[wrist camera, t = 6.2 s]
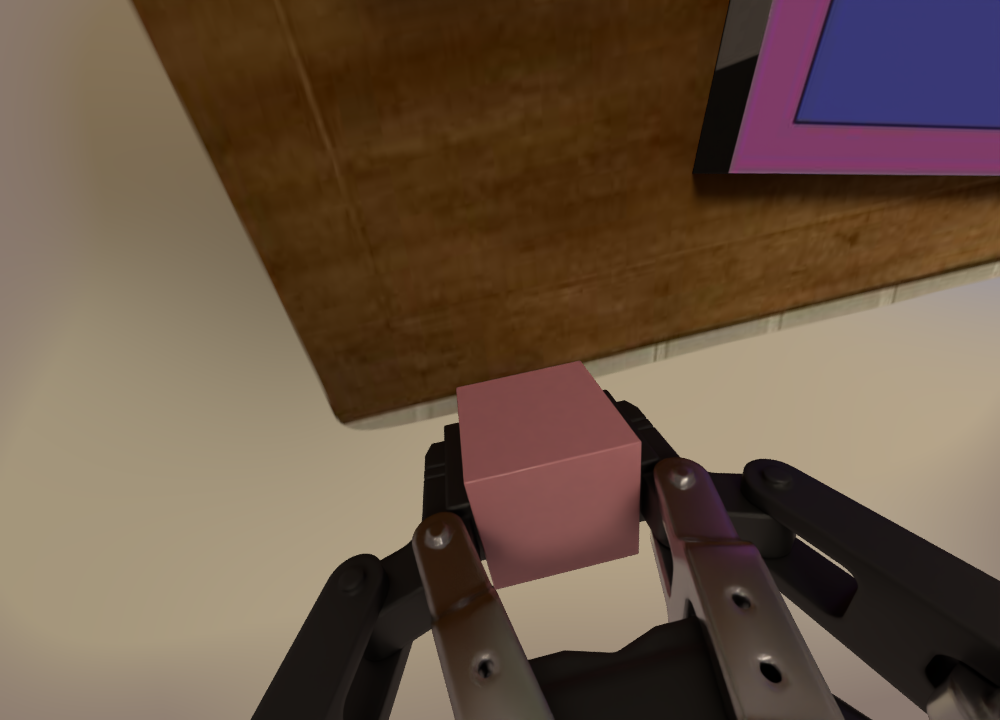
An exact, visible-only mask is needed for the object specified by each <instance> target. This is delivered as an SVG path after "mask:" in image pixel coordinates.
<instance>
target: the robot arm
mask: <svg viewBox="0 0 1000 720" xmlns="http://www.w3.org/2000/svg"><path fill="white" fill-rule="evenodd" d="M603 392H604V393H605V394H606V396H607V397H608V398H609V400H610V401H611V402H612V404H613V405H614V406H615V408H616V409H617V410H618V412H619V413H620V414H621V416H622V417H623V418H624V420H625V421H626V422H627V423H628V425H629V426H630V427H631V429H632V430H633V431H634V433H635V434H636V435H637V437H638V438H639V439H640V441H641V480H640V517H639V522H641V521H646V522H647V524H648V525H649V527H650V529H651V533H650V534H651V535H650V539H651V544H652V548H653V552H654V555H655V560H656V564H657V568H658V572H659V576H660V580H661V584H662V588H663V593H664V597H665V601H666V605H667V611H668V622H669V623H666V624H663V625H659V626H655V627H654V628H652V629H651V630H649V631H648V632H646V633H645V634H643V635H642V636H640V637H639V638H637V639H636V640H634V641H633V642H631V643H630V644H628V645H627V646H625V647H624V648H622V649H621V650H619V651H617V652H614V653H606V652H586V651H561V652H557V653H553V654H550V655H546V656H542V657H538V658H534V659H531V660H527V657H526V655H525V653H524V651H523V648H522V646H521V644H520V642H519V640H518V637H517V635H516V633H515V631H514V629H513V626H512V624H511V622H510V620H509V618H508V615H507V613H506V611H505V609H504V606H503V604H502V602H501V600H500V598H499V595H498V593H497V591H496V589H495V588H494V586H492V585H491V583H490V581H489V579H488V577H487V574H486V572H485V570H484V567H483V565H482V563H481V561H482V560H486V557H485V554H484V550H483V547H482V544H481V540H480V537H479V533H478V530H477V527H476V523H475V520H474V516H473V513H472V510H471V506H470V503H469V499H468V496H467V493H466V489H465V486H464V479H463V466H462V454H461V441H460V428H459V423H454V424H450V425H446V426H444V441H442V442H439V443H434V444H432V445H431V446H430V448H429V450H428V452H427V454H426V456H425V471H424V479H425V481H424V492H423V514H422V522H421V523H420V524H419V526H418V527H417V528H416V530H415V532H414V534H413V538H412V540H411V541H410V542H409V543H408V544H407V545H406V546H404V547H403V548H401V549H400V550H398V551H396V552H394V553H393V554H391V555H389V556H387V557H385V558H384V559H382V560H379V559H378V558H377V557H376V556H374V555H372V554H360V555H356V556H354V557H351V558H349V559H348V560H346V561H345V562H343V563H342V564H341V565H339V566H338V567H337V568H336V570H335V571H334V572H333V573H332V574H331V576H330V577H329V579H328V581H327V583H326V584H325V586H324V588H323V590H322V592H321V593H320V595H319V597H318V599H317V601H316V602H315V604H314V606H313V608H312V610H311V612H310V613H309V615H308V617H307V619H306V620H305V622H304V624H303V626H302V628H301V630H300V631H299V633H298V635H297V637H296V639H295V640H294V642H293V644H292V646H291V648H290V649H289V651H288V653H287V655H286V657H285V659H284V660H283V662H282V664H281V666H280V668H279V669H278V671H277V673H276V675H275V677H274V678H273V680H272V682H271V684H270V686H269V687H268V689H267V691H266V693H265V695H264V696H263V698H262V700H261V702H260V704H259V706H258V707H257V709H256V711H255V713H254V715H253V716H252V718H251V720H389V716H390V714H391V710H392V707H393V703H394V701H395V697H396V694H397V691H398V688H399V684H400V681H401V678H402V675H403V671H404V668H405V665H406V662H407V659H408V655H409V652H410V649H411V645H412V642H413V641H414V640H415V639H417V638H418V637H420V636H421V635H423V634H424V633H426V632H427V631H429V630H430V629H432V633H433V637H434V641H435V645H436V648H437V652H438V656H439V660H440V663H441V668H442V671H443V675H444V679H445V683H446V687H447V691H448V694H449V698H450V702H451V706H452V710H453V713H454V717H455V720H872V719H870V718H868V717H867V716H865V715H864V714H862V713H861V712H859V711H858V710H856V709H854V708H853V707H852V706H850V705H848V704H847V703H846V702H844V701H843V700H841V699H840V698H838V697H837V696H835V695H833V694H832V693H831V691H830V689H829V688H828V686H827V684H826V682H825V680H824V678H823V676H822V674H821V672H820V670H819V668H818V666H817V664H816V662H815V660H814V658H813V656H812V654H811V652H810V650H809V648H808V646H807V644H806V643H805V640H804V638H803V637H802V635H801V633H800V631H799V629H798V627H797V625H796V623H795V621H794V619H793V617H792V615H791V613H790V611H789V609H788V607H787V605H786V603H785V602H784V599H783V597H782V596H781V593H782V594H783V595H785V596H786V597H787V598H788V599H789V600H791V601H792V602H793V603H794V604H795V605H797V606H798V607H799V608H800V609H801V610H803V611H804V612H805V613H806V614H808V615H809V616H810V617H811V618H812V619H813V620H815V621H816V622H817V623H818V624H819V625H821V626H822V627H823V628H824V629H825V630H827V631H828V632H829V633H830V634H832V635H833V636H834V637H835V638H836V639H838V640H839V641H840V642H841V643H842V644H844V645H845V646H846V647H847V648H848V649H850V650H851V651H852V652H853V653H854V654H856V655H857V656H858V657H859V658H860V659H862V660H863V661H864V662H865V663H866V664H868V665H869V666H870V667H871V668H872V669H874V670H875V671H876V672H877V673H878V674H880V675H881V676H882V677H883V678H884V679H886V680H887V681H888V682H889V683H891V684H892V685H893V686H894V687H895V688H897V689H898V690H899V691H900V692H902V694H904V695H905V696H906V697H907V698H908V699H910V700H911V701H912V702H913V703H915V704H916V705H917V706H919V708H921V709H922V710H923V711H924V712H925V713H927V714H928V717H929V720H1000V581H999V580H997V579H995V578H993V577H992V576H990V575H988V574H986V573H984V572H983V571H981V570H979V569H977V568H975V567H974V566H972V565H970V564H968V563H966V562H965V561H963V560H961V559H959V558H957V557H955V556H954V555H952V554H950V553H948V552H946V551H945V550H943V549H941V548H939V547H937V546H935V545H934V544H932V543H930V542H928V541H926V540H925V539H923V538H921V537H919V536H917V535H916V534H914V533H912V532H910V531H908V530H907V529H905V528H903V527H901V526H899V525H898V524H896V523H894V522H892V521H890V520H888V519H887V518H885V517H883V516H881V515H879V514H877V513H876V512H874V511H872V510H870V509H869V508H867V507H865V506H863V505H861V504H859V503H858V502H856V501H854V500H852V499H850V498H848V497H847V496H845V495H843V494H841V493H839V492H838V491H836V490H834V489H832V488H830V487H829V486H827V485H825V484H823V483H821V482H820V481H818V480H816V479H814V478H812V477H811V476H809V475H807V474H805V473H803V472H802V471H800V470H798V469H796V468H794V467H792V466H790V465H788V464H785V463H783V462H780V461H777V460H771V459H757V460H753V461H751V462H749V463H747V464H746V466H745V467H744V471H743V474H731V473H711V472H707V471H706V470H705V469H704V468H703V467H702V466H701V465H699V464H698V463H696V462H694V461H691V460H689V459H685V458H680V457H679V455H678V454H677V453H676V452H675V451H674V450H673V449H672V447H671V446H670V445H669V444H668V443H667V441H666V440H665V439H664V438H663V437H662V436H661V434H660V433H659V432H658V431H657V430H656V428H654V427H653V425H652V424H651V423H650V421H649V420H648V419H646V417H645V415H644V414H643V413H642V412H641V411H640V410H639V408H638V407H636V406H634V405H632V404H631V403H629V402H627V401H625V400H624V401H619V402H616V401H615V399H614V398H613V397H612V396H611V394H610V393H609V392H608V391H607V390H603ZM796 534H797V535H798V536H800V537H801V538H803V539H804V540H806V541H807V542H809V543H810V544H812V545H813V546H815V547H816V548H818V549H819V550H820V551H822V552H823V553H825V554H826V555H828V556H829V557H831V558H832V559H833V560H835V561H836V562H838V563H839V564H841V565H842V566H843V567H845V568H846V569H847V570H848V571H849V572H850V573H851V574H852V575H853V576H854V577H852V576H851V575H849V574H848V573H846V572H845V571H844V570H842V569H841V568H839V567H838V566H836V565H835V564H833V563H832V562H831V561H829V560H828V559H826V558H825V557H823V556H822V555H820V554H819V553H818V552H816V551H815V550H813V549H812V548H810V547H809V546H808V545H806V544H805V543H803V542H802V541H800V540H799V539H797V538H796ZM780 592H781V593H780Z"/></svg>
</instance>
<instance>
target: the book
mask: <svg viewBox="0 0 1000 720" xmlns="http://www.w3.org/2000/svg"><path fill="white" fill-rule="evenodd" d="M693 173H705V174H817V175H930V176H1000V0H730V4H729V8H728V13H727V17H726V22H725V27H724V31H723V36H722V40H721V45H720V50H719V54H718V59H717V63H716V68H715V73H714V77H713V82H712V86H711V91H710V96H709V100H708V105H707V109H706V114H705V119H704V123H703V128H702V132H701V137H700V142H699V146H698V151H697V155H696V160H695V165H694V169H693Z"/></svg>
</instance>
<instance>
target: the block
mask: <svg viewBox="0 0 1000 720" xmlns="http://www.w3.org/2000/svg"><path fill="white" fill-rule="evenodd" d="M456 390H457V403H458V416H459V428H460V441H461V454H462V466H463V479H464V486H465V489H466V493H467V496H468V499H469V503H470V506H471V510H472V513H473V516H474V520H475V523H476V527H477V530H478V533H479V537H480V540H481V544H482V547H483V550H484V554H485V557H486V561H487V564H488V567H489V570H490V574H491V577H492V581H493V584H494V588H495V589H500V588H504V587H508V586H512V585H516V584H520V583H524V582H528V581H532V580H536V579H540V578H544V577H548V576H552V575H556V574H560V573H564V572H568V571H572V570H576V569H580V568H584V567H588V566H592V565H596V564H600V563H604V562H608V561H612V560H615V559H620V558H624V557H627V556H632V555H635V554H638V553H639V517H640V480H641V441H640V439H639V438H638V437H637V435H636V434H635V433H634V431H633V430H632V429H631V427H630V426H629V425H628V423H627V422H626V421H625V420H624V418H623V417H622V416H621V414H620V413H619V412H618V410H617V409H616V408H615V406H614V405H613V404H612V402H611V401H610V400H609V398H608V397H607V396H606V394H605V393H604V392H603V390H602V389H601V388H600V386H599V385H598V384H597V383H596V381H595V380H594V378H593V377H592V376H591V374H590V373H589V372H588V370H587V369H586V368H585V366H584V365H583V364H582V362H581V361H576V362H572V363H567V364H562V365H558V366H553V367H549V368H544V369H540V370H535V371H531V372H526V373H521V374H517V375H512V376H508V377H503V378H499V379H494V380H490V381H485V382H480V383H476V384H471V385H467V386H462V387H458V388H457V389H456Z"/></svg>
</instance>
